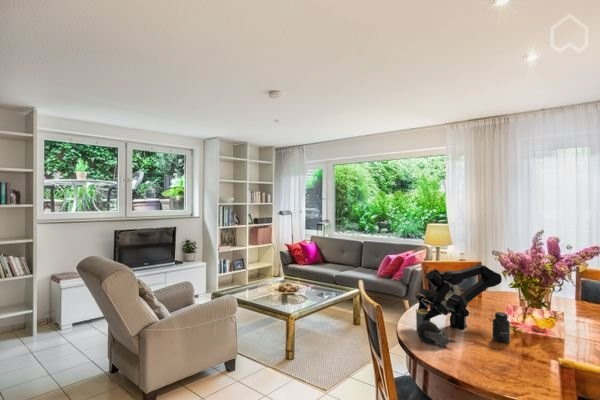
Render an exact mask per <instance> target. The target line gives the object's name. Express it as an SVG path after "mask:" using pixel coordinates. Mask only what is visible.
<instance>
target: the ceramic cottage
mask: <svg viewBox="0 0 600 400" xmlns="http://www.w3.org/2000/svg"><path fill="white" fill-rule="evenodd" d="M452 286H453V289H454V292H451V291H449V292H448V294H447V295H446V296H445V298H444V299H445V301H443V300H442V302H441V303H442V304H443V305H444V306H445V307H446V301H447V300H448V298H449V297H451V296H452V295H453V294H456V295H461V291H460V287H458V284H457V285H452ZM446 308H447V307H446ZM448 313H450V312H449V311H448Z"/></svg>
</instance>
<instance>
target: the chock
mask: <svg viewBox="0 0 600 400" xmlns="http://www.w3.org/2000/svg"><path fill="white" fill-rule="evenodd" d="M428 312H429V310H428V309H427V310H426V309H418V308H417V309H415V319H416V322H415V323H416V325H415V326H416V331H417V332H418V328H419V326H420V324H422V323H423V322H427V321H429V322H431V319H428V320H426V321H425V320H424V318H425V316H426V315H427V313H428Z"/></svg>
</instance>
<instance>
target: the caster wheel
mask: <svg viewBox="0 0 600 400" xmlns="http://www.w3.org/2000/svg"><path fill="white" fill-rule="evenodd" d="M417 335H418V337H419V339H420V340H421V341H422V342H423V343H425V344H429V345H431V344H435V343H438V344H439V345H440V348H444V346H448V344H449V343H453V344H454V343H456V340H455V339H450V338H448V336H447V335H446V334H445V330H444V329H439V327H438V326H437V324H436V323H434V322H432V321H430V322H429V321H427V322H423V323H422V324H420V326H419V328H418V331H417Z"/></svg>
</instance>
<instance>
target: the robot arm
mask: <svg viewBox="0 0 600 400" xmlns="http://www.w3.org/2000/svg"><path fill="white" fill-rule="evenodd" d="M476 276H480V280H478V281H477V282H475V283H474V284H473V285H472V286H470V287H469V288H468V289H466V290H465V291H464V292H461V293H460V295H456V294H453V295H452V296H451V297H449V298H448V300H447V301H446V307H447V308H446V307H445V306H444V305H443V304H442V303H441V302H442V300H443V301H445V299H444V298H445V296H446V295H447V294H448V292H449V291H451V292H454V289H453V286H454V285H457V286H458V285H459V284H461V283H462V282H464V280H466V279H470V278H473V277H476ZM425 279H426V280H427V281H428V283H430V284H431V286H433V287H434V289H429V290H428V289H426V288H423V287H421V288H420V291H419V294H416V296H415V297H414V298H415V300H417V302H418V307H417V310H418V309H426V310H428V309H429V310H428V311H429V312H428V313H427V315H426V316H425V318H424V320H425V321H426V320H428V319H430V320H431V319H432V318H435V317H437V316H438V317H439V316H442V315H443V316H447V315H448V314H449V313H450V315H449V327H451V328H453V329H454V328H455V329H459V330H465V329H466V328H467V327H468V324H467V317H469V315H470V311H469V310H468V309H467V306H468V304H469V303H470V302H471V301H473V300H474V299H475V298H477V297H478V296H479V295H480V294H481V293H483V292H484V291H486V290H487V289H489V288H492V287H496V286H498V285H500V284H501V283H502V280H503V277H502V275H501V274H500V273H498V272H496V271H494V270H492V269H490V268H489V267H487V265H483V264H475V266H474V265H473V266H470V267H467V268H464V269H460V270H447V271H444V273H441V272H440V271H439V270H438V269H436V268H434V269H433V270H431V271H429V272H426V274H425ZM428 306H429V308H428ZM448 311H449V312H448Z"/></svg>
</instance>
